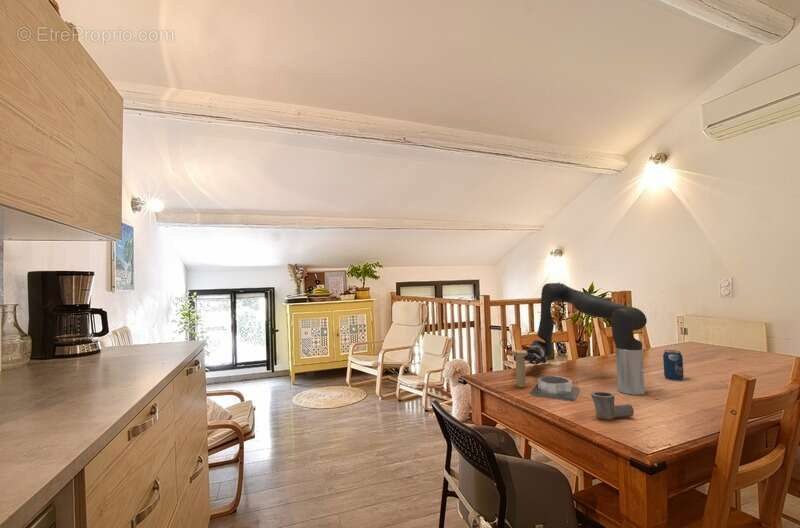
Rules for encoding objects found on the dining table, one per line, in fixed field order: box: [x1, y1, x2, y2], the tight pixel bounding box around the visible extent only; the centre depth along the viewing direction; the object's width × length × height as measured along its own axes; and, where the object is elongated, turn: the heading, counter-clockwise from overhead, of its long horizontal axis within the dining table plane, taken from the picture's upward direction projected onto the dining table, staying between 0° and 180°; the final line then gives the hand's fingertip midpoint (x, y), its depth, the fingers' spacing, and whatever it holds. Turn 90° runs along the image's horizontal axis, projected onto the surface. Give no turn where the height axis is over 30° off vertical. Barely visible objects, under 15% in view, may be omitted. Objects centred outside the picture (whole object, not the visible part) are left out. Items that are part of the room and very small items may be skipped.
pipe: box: [590, 391, 635, 421], centre depth 124 cm, size 6×13×8 cm, turn 89°
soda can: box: [662, 349, 685, 381], centre depth 165 cm, size 7×7×12 cm
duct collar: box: [529, 375, 580, 402], centre depth 152 cm, size 16×16×5 cm
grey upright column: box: [511, 349, 527, 388], centre depth 161 cm, size 5×6×15 cm
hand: (526, 361), depth 170 cm, fingers open, 8 cm apart
